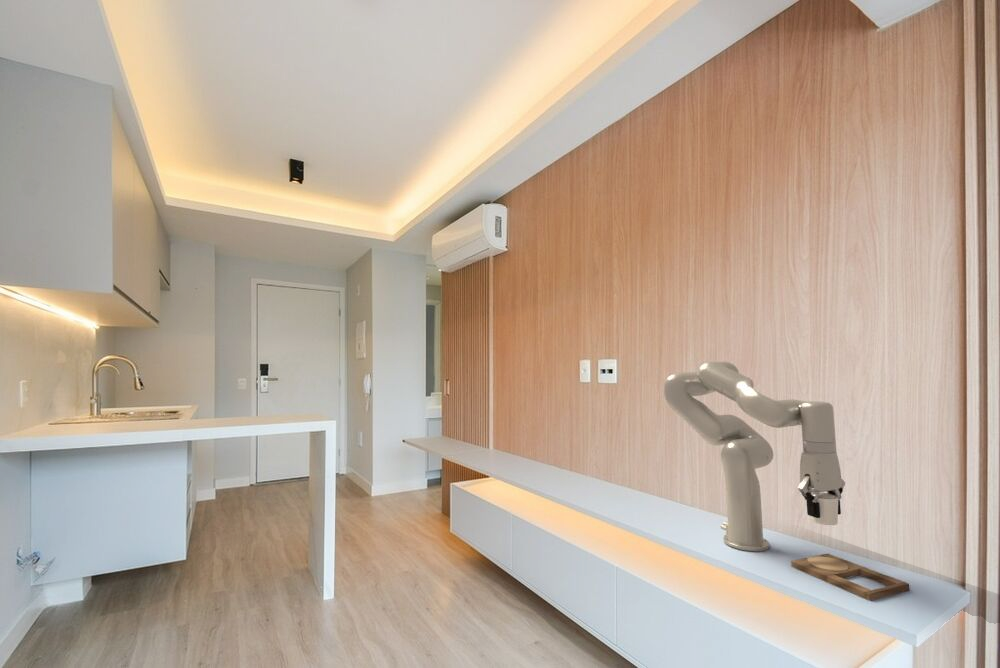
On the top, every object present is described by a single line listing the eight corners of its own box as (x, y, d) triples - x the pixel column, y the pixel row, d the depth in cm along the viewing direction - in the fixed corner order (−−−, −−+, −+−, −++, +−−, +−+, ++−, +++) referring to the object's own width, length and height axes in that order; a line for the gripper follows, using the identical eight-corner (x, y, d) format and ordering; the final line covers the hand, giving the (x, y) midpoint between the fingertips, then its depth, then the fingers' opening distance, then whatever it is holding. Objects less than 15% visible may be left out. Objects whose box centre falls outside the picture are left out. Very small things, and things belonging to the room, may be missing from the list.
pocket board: (791, 566, 128) (790, 559, 128) (828, 558, 132) (828, 552, 132) (869, 600, 109) (868, 592, 109) (909, 590, 113) (909, 582, 113)
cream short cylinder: (834, 527, 121) (832, 500, 122) (804, 521, 127) (803, 494, 127) (844, 522, 125) (842, 495, 126) (815, 516, 131) (813, 490, 131)
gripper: (828, 443, 134) (833, 507, 133) (783, 447, 128) (787, 514, 127) (856, 447, 127) (861, 514, 125) (808, 452, 121) (813, 523, 120)
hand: (824, 514), depth 126 cm, fingers closed on cream short cylinder, 6 cm apart
